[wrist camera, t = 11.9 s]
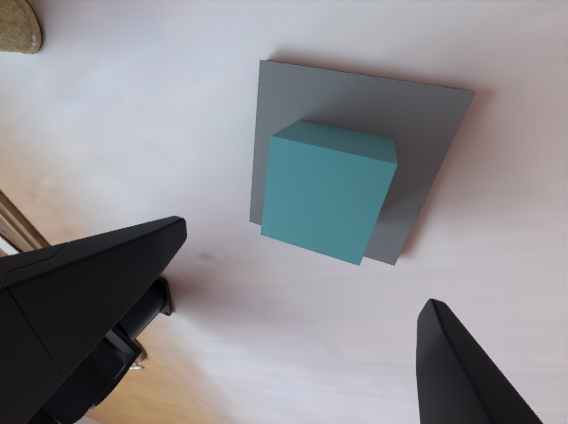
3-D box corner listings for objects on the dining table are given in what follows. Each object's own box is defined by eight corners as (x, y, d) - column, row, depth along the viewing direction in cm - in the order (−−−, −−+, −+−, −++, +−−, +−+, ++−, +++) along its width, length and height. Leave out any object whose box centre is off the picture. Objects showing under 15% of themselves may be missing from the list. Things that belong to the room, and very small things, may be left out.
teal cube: (298, 119, 17) (270, 135, 13) (393, 139, 15) (397, 164, 11) (286, 200, 20) (260, 234, 16) (364, 222, 18) (359, 265, 14)
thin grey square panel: (394, 257, 20) (396, 297, 17) (254, 216, 23) (230, 243, 19) (469, 90, 14) (498, 97, 10) (266, 60, 17) (233, 57, 13)
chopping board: (-77, 199, 46) (-104, 207, 44) (-50, 130, 33) (-86, 135, 31) (93, 367, 59) (80, 380, 56) (162, 364, 45) (149, 381, 43)
